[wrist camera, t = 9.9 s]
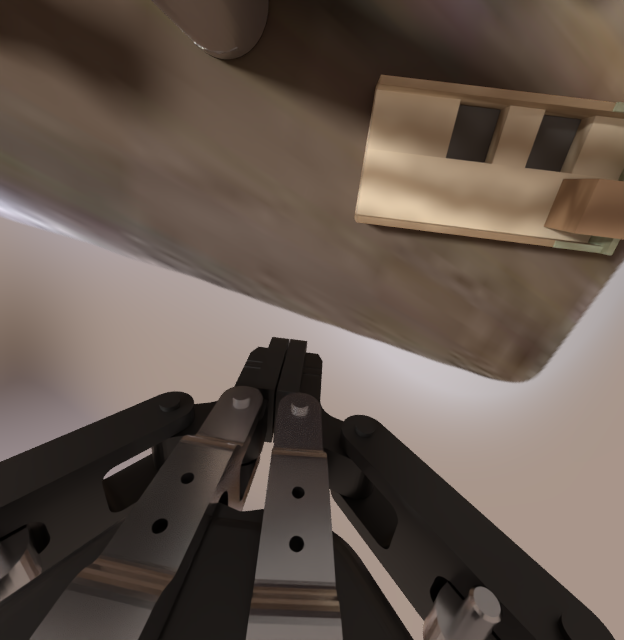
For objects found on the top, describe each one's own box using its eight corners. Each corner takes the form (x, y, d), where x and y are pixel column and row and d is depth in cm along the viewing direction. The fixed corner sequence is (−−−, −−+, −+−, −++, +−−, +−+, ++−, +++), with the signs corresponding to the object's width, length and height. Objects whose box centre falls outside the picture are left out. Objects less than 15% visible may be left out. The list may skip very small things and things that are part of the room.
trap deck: (375, 86, 32) (382, 71, 28) (639, 117, 32) (689, 107, 28) (354, 218, 38) (357, 223, 34) (578, 246, 38) (611, 255, 33)
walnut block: (563, 178, 33) (599, 178, 29) (609, 184, 33) (654, 185, 28) (543, 226, 35) (574, 233, 31) (587, 232, 35) (624, 239, 31)
